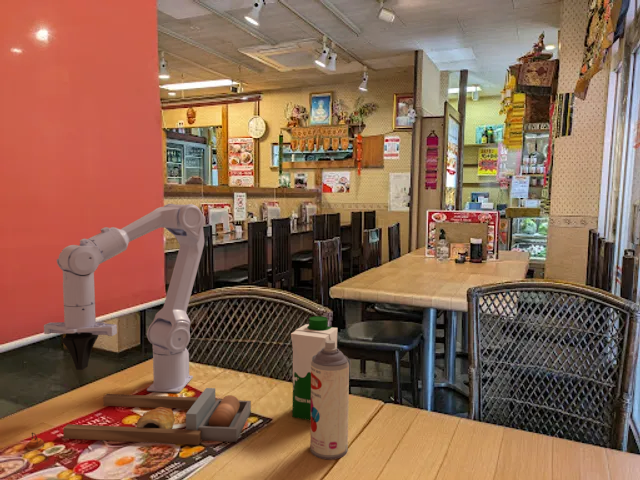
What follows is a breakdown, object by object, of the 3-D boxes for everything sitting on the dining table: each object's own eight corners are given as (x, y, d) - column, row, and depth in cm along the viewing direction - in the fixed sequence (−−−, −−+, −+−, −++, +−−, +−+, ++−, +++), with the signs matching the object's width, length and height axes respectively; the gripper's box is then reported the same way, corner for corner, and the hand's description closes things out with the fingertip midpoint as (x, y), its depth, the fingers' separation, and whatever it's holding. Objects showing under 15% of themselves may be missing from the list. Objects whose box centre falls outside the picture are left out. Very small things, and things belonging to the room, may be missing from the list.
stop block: (206, 410, 99) (206, 387, 99) (215, 410, 99) (215, 388, 99) (186, 439, 87) (185, 413, 87) (196, 439, 87) (196, 414, 87)
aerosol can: (307, 441, 87) (308, 337, 85) (342, 438, 88) (344, 335, 87) (313, 461, 80) (314, 348, 79) (351, 457, 82) (353, 346, 80)
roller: (221, 414, 97) (220, 395, 96) (240, 413, 96) (239, 395, 96) (209, 433, 89) (208, 413, 88) (230, 432, 89) (228, 412, 88)
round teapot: (23, 451, 83) (22, 437, 83) (31, 443, 86) (30, 429, 86) (40, 450, 83) (40, 436, 83) (48, 442, 86) (47, 428, 86)
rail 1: (107, 402, 103) (107, 393, 103) (222, 407, 101) (222, 398, 101) (103, 405, 101) (103, 396, 101) (220, 410, 99) (220, 401, 99)
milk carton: (340, 407, 101) (341, 318, 99) (325, 426, 93) (326, 328, 91) (303, 401, 104) (304, 313, 103) (285, 418, 96) (286, 323, 94)
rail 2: (68, 434, 89) (68, 424, 89) (201, 440, 87) (201, 430, 87) (63, 438, 87) (63, 428, 87) (198, 444, 85) (198, 434, 85)
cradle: (217, 410, 99) (217, 399, 99) (250, 412, 99) (250, 400, 99) (198, 440, 87) (198, 427, 87) (236, 441, 87) (236, 429, 86)
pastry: (148, 416, 97) (148, 398, 97) (181, 416, 97) (181, 398, 97) (132, 439, 88) (132, 420, 87) (168, 439, 88) (168, 420, 88)
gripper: (32, 307, 92) (35, 373, 93) (103, 309, 91) (105, 376, 92) (55, 299, 99) (57, 361, 100) (121, 301, 98) (122, 364, 99)
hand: (81, 368), depth 96 cm, fingers closed
